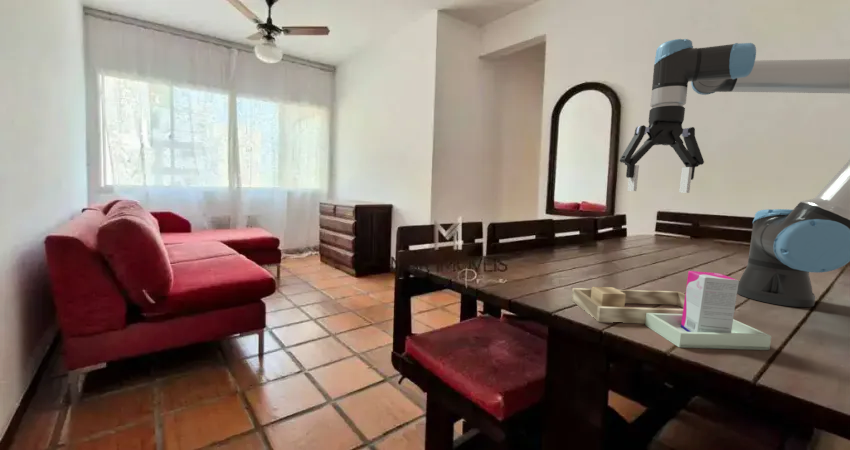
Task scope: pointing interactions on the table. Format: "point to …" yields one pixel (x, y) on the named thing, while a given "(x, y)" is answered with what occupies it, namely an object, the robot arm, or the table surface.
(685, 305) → the supplement box
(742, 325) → the tray
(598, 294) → the oak block
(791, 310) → the table surface
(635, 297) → the frame
